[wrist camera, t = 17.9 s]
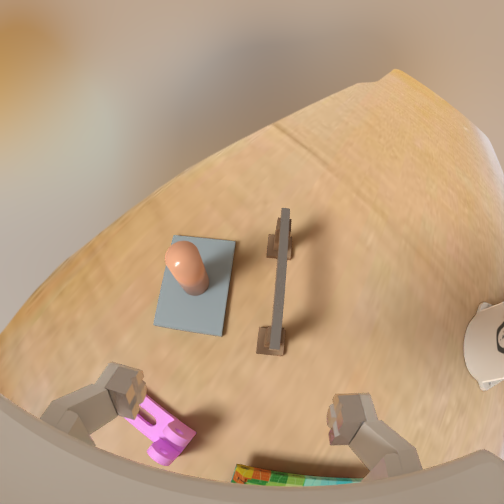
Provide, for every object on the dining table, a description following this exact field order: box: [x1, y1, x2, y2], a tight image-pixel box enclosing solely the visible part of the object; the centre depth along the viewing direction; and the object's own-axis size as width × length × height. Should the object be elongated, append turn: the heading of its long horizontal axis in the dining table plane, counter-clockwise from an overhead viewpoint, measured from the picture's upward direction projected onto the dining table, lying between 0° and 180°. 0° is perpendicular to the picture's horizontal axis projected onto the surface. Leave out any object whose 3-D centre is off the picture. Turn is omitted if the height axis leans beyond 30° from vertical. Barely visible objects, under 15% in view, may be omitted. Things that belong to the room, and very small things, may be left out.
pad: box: [153, 235, 236, 336], centre depth 45 cm, size 11×16×1 cm
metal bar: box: [269, 208, 290, 351], centre depth 37 cm, size 1×20×1 cm, turn 174°
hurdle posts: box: [256, 218, 292, 356], centre depth 41 cm, size 4×20×8 cm, turn 174°
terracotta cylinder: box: [165, 241, 209, 296], centre depth 40 cm, size 5×5×10 cm
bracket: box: [124, 394, 197, 466], centre depth 33 cm, size 13×6×7 cm, turn 56°
